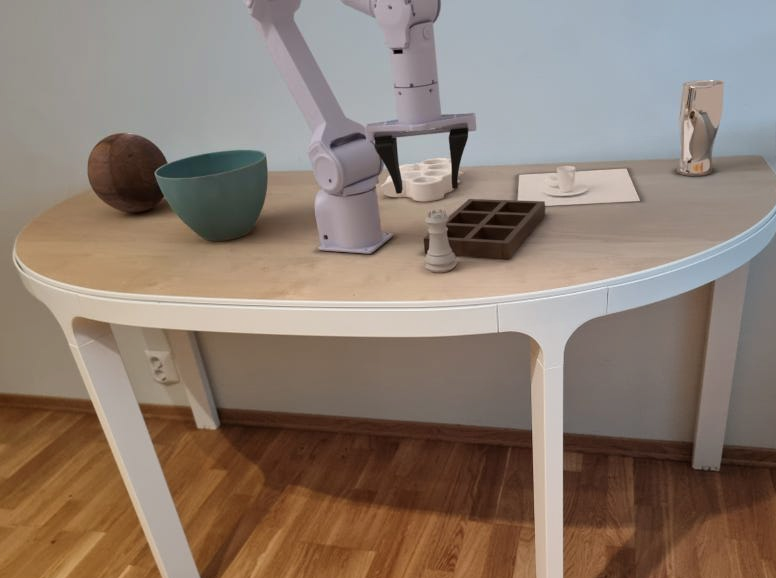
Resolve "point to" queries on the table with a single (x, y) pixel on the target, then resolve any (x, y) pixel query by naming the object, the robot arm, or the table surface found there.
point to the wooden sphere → (126, 172)
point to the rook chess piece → (439, 243)
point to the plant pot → (217, 191)
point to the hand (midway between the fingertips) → (427, 189)
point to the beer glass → (699, 125)
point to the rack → (491, 227)
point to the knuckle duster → (423, 180)
